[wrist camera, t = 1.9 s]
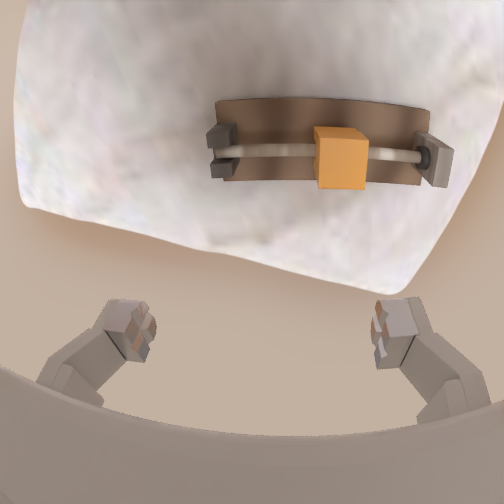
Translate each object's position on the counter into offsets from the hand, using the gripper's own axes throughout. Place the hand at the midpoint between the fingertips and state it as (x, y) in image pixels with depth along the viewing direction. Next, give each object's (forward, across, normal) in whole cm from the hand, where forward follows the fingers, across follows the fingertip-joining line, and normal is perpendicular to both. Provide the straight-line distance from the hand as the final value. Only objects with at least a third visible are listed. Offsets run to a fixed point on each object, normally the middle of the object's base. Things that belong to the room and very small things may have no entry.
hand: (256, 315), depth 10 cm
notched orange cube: (+21, -5, 0) cm, 22 cm away
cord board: (+25, -5, 0) cm, 25 cm away
